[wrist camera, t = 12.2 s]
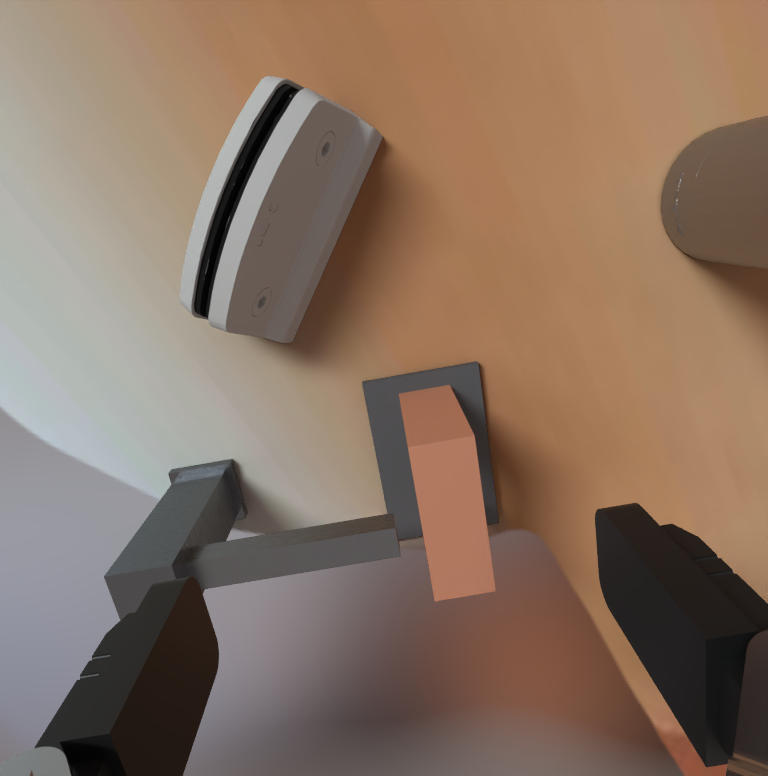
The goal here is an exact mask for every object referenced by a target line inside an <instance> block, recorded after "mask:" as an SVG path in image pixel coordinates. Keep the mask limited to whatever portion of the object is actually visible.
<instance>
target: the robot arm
mask: <svg viewBox="0 0 768 776" xmlns="http://www.w3.org/2000/svg"><path fill="white" fill-rule="evenodd" d="M661 213H662V220H663V223H664V226H665V229H666V232H667V234H668V235H669V237H670V238H671V240H672V241H673V243H674V244H675V245H676V246H677V247H678V248H679V249H680V250H681V251H682V252H684V253H686V254H688V255H689V256H691V257H693V258H696V259H700V260H704V261H710V262H718V263H725V264H733V265H739V266H747V267H755V268H763V269H768V116H764V117H759V118H755V119H751V120H747V121H743V122H739V123H735V124H732V125H728V126H724V127H720V128H717V129H715V130H712V131H710V132H707V133H705V134H703V135H702V136H700V137H699V138H697V139H696V140H694V141H693V142H692V143H691V144H690V145H689V146H688V147H686V148H685V149H684V150H683V151H682V152H681V154H680V155H679V156H678V158H677V159H676V161H675V162H674V163H673V165H672V167H671V169H670V171H669V173H668V175H667V177H666V180H665V183H664V187H663V191H662V198H661ZM595 526H596V540H597V554H598V568H599V579H600V585H601V589H602V592H603V596H604V599H605V601H606V604H607V606H608V608H609V610H610V612H611V613H612V615H613V616H614V618H615V620H616V621H617V623H618V625H619V626H620V628H621V629H622V631H623V633H624V634H625V636H626V638H627V639H628V641H629V642H630V644H631V646H632V647H633V649H634V651H635V652H636V654H637V655H638V657H639V659H640V660H641V662H642V664H643V665H644V667H645V668H646V670H647V672H648V673H649V675H650V677H651V678H652V680H653V681H654V683H655V685H656V686H657V688H658V690H659V691H660V693H661V694H662V696H663V698H664V699H665V701H666V703H667V704H668V706H669V707H670V709H671V711H672V712H673V714H674V716H675V717H676V719H677V720H678V722H679V724H680V725H681V727H682V729H683V730H684V732H685V733H686V735H687V737H688V738H689V740H690V742H691V743H692V745H693V746H694V748H695V750H696V751H697V753H698V755H699V756H700V758H701V759H702V761H703V763H704V764H705V766H706V767H711V766H717V765H723V764H727V770H726V776H768V604H767V603H766V602H765V601H764V600H763V599H762V598H761V597H760V596H759V595H758V594H757V593H756V592H755V591H754V590H753V589H752V588H751V587H750V586H749V585H748V584H747V583H746V582H745V581H744V580H742V579H741V578H740V577H739V576H738V575H737V574H734V573H733V571H732V569H731V568H730V567H729V566H728V565H727V564H726V563H725V562H724V561H723V560H722V559H721V558H719V559H718V557H717V554H716V553H715V552H713V551H712V550H711V549H710V548H709V547H708V546H707V545H706V544H705V543H704V542H703V541H702V540H701V539H700V538H699V537H698V536H695V535H693V534H691V533H689V532H687V531H685V530H683V529H681V528H679V527H677V526H675V525H673V524H668V525H662V526H659V525H658V523H657V522H656V521H655V520H654V519H653V518H652V517H651V516H650V515H649V514H648V513H647V512H646V511H645V510H644V509H643V508H642V507H641V506H640V505H639V504H637V503H632V504H626V505H620V506H614V507H608V508H602V509H598V510H597V511H596V514H595ZM218 662H219V649H218V642H217V638H216V635H215V631H214V628H213V625H212V622H211V619H210V616H209V613H208V610H207V606H206V603H205V600H204V597H203V594H202V591H201V588H200V585H199V583H198V581H197V580H196V578H194V577H185V578H180V579H174V580H168V581H162V582H156V583H154V584H153V585H152V586H151V587H150V589H149V590H148V592H147V594H146V595H145V597H144V599H143V601H142V602H141V604H140V606H139V607H138V609H137V611H136V612H134V613H128V614H127V615H126V616H125V617H124V618H123V619H122V620H121V621H120V622H119V623H118V624H116V625H115V626H114V627H113V628H112V629H111V630H110V631H109V632H108V633H107V634H106V635H105V637H104V638H103V640H102V641H101V643H100V644H99V646H98V648H97V649H96V651H95V652H94V654H93V656H92V661H89V662H88V664H87V665H86V667H85V668H84V670H83V671H82V673H81V675H80V680H77V681H76V683H75V684H74V686H73V688H72V689H71V691H70V692H69V694H68V695H67V697H66V698H65V700H64V702H63V703H62V705H61V706H60V708H59V710H58V711H57V713H56V714H55V716H54V718H53V719H52V721H51V722H50V724H49V725H48V727H47V729H46V730H45V732H44V733H43V735H42V737H41V738H40V740H39V741H38V743H37V745H36V746H35V748H34V749H31V750H28V751H25V752H23V753H20V754H18V755H16V756H14V757H12V758H10V759H8V760H7V761H5V762H4V763H2V764H1V765H0V776H183V773H184V770H185V767H186V764H187V761H188V758H189V755H190V752H191V749H192V746H193V743H194V740H195V737H196V734H197V731H198V728H199V725H200V722H201V719H202V716H203V713H204V710H205V707H206V704H207V701H208V698H209V695H210V692H211V689H212V686H213V683H214V680H215V676H216V674H217V669H218Z"/></svg>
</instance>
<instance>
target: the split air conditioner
mask: <svg viewBox="0 0 768 776" xmlns="http://www.w3.org/2000/svg"><path fill="white" fill-rule="evenodd" d="M382 138H383V136H382V135H381V134H380V133H379V132H378V131H377V130H376V129H375V128H373V127H372V126H371V125H369V124H368V123H367V122H365V121H364V120H363V119H361V118H360V117H359V116H357V115H356V114H355V113H353V112H352V111H351V110H349V109H347V108H345V107H343V106H341V105H339V104H337V103H335V102H333V101H331V100H329V99H327V98H326V97H324V96H322V95H320V94H318V93H316V92H314V91H312V90H310V89H308V88H304V87H302V86H300V85H298V84H296V83H295V82H293V81H291V80H289V79H284V78H278V77H272V76H266V77H264V78H263V79H262V80H261V81H260V82H259V84H258V86H257V87H256V89H255V90H254V92H253V93H252V95H251V96H250V98H249V99H248V101H247V103H246V104H245V106H244V108H243V109H242V111H241V113H240V115H239V116H238V118H237V120H236V122H235V124H234V126H233V127H232V129H231V131H230V133H229V135H228V137H227V139H226V141H225V143H224V145H223V147H222V149H221V151H220V153H219V156H218V158H217V160H216V163H215V165H214V168H213V170H212V172H211V175H210V177H209V180H208V182H207V185H206V187H205V190H204V193H203V196H202V198H201V201H200V204H199V207H198V210H197V213H196V217H195V220H194V224H193V227H192V231H191V235H190V238H189V242H188V246H187V251H186V256H185V260H184V265H183V272H182V278H181V286H180V296H179V299H180V303H181V305H183V306H184V307H185V308H186V309H187V310H188V311H189V312H190V313H191V314H192V315H193V316H194V317H197V318H202V319H208V320H209V324H210V325H211V326H212V327H214V328H217V329H220V330H223V331H226V332H229V333H236V334H242V335H249V336H255V337H262V338H266V339H270V340H273V341H277V342H280V343H289V342H293V340H294V337H295V335H296V333H297V331H298V328H299V326H300V324H301V322H302V319H303V317H304V315H305V312H306V310H307V308H308V306H309V303H310V301H311V299H312V297H313V294H314V292H315V290H316V288H317V285H318V283H319V281H320V278H321V276H322V274H323V272H324V269H325V267H326V265H327V263H328V260H329V258H330V256H331V254H332V251H333V249H334V247H335V245H336V242H337V240H338V238H339V235H340V233H341V231H342V229H343V226H344V224H345V222H346V220H347V217H348V215H349V213H350V211H351V208H352V206H353V204H354V202H355V199H356V197H357V195H358V192H359V190H360V188H361V186H362V183H363V181H364V179H365V177H366V174H367V172H368V170H369V168H370V165H371V163H372V161H373V158H374V156H375V154H376V152H377V149H378V147H379V145H380V143H381V140H382Z"/></svg>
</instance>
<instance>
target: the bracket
mask: <svg viewBox="0 0 768 776" xmlns="http://www.w3.org/2000/svg"><path fill="white" fill-rule="evenodd" d="M169 478H170V481H171V484H172V485H171V486H170V488H169V489H168V490H167V492H166V493H165V494H164V496H163V497H162V498H161V500H160V501H159V503H158V504H157V505H156V507H155V508H154V509H153V511H152V512H151V514H150V515H149V516H148V518H147V519H146V520H145V522H144V523H143V524H142V526H141V527H140V528H139V530H138V531H137V533H136V534H135V535H134V537H133V538H132V539H131V541H130V542H129V543H128V545H127V546H126V547H125V549H124V550H123V551H122V553H121V554H120V556H119V557H118V558H117V560H116V561H115V562H114V564H113V565H112V566H111V568H110V569H109V571H108V572H107V573H106V575H105V576H104V578H105V580H106V583H107V586H108V588H109V591H110V594H111V596H112V599H113V602H114V604H115V607H116V610H117V612H118V615H119V617H120V620H122V619H123V618H124V617H125V616H126V615H127V614H128V613H134V612H136V611H137V609H138V607H139V606H140V604H141V602H142V601H143V599H144V597H145V595H146V594H147V592H148V590H149V589H150V587H151V586H152V585H153V584H154V583H156V582H162V581H168V580H174V579H180V578H185V577H194V578H196V580H197V581H198V583H199V585H200V588H201V591H202V594H203V592H204V590H205V589H208V588H213V587H219V586H225V585H232V584H238V583H244V582H250V581H255V580H262V579H268V578H273V577H279V576H285V575H291V574H297V573H303V572H309V571H315V570H321V569H326V568H333V567H339V566H345V565H351V564H357V563H363V562H369V561H375V560H381V559H387V558H393V557H399V556H400V547H399V538H398V533H397V528H396V522H395V517H394V513H390V514H384V515H378V516H373V517H367V518H361V519H355V520H349V521H343V522H337V523H331V524H325V525H319V526H314V527H308V528H302V529H296V530H290V531H284V532H278V533H272V534H266V535H260V536H255V537H249V538H243V539H237V540H231V541H226V539H227V538H228V535H229V533H230V531H231V528H232V526H233V524H234V522H235V520H238V519H244V518H246V515H247V510H246V507H245V503H244V499H243V496H242V492H241V489H240V485H239V481H238V478H237V474H236V471H235V467H234V464H233V460H232V459H230V460H224V461H218V462H212V463H206V464H201V465H195V466H189V467H183V468H178V469H172V470H171V471H170V472H169Z"/></svg>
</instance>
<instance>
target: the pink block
mask: <svg viewBox="0 0 768 776" xmlns="http://www.w3.org/2000/svg"><path fill="white" fill-rule="evenodd" d="M399 399H400V405H401V411H402V416H403V422H404V428H405V434H406V440H407V445H408V451H409V457H410V462H411V468H412V474H413V479H414V485H415V491H416V497H417V502H418V508H419V514H420V519H421V525H422V531H423V536H424V542H425V548H426V553H427V559H428V564H429V570H430V576H431V582H432V587H433V592H434V599H435V601H439V600H445V599H451V598H457V597H464V596H469V595H475V594H482V593H487V592H494V591H496V590H495V582H494V575H493V567H492V560H491V552H490V546H489V538H488V530H487V523H486V516H485V508H484V501H483V493H482V486H481V479H480V471H479V464H478V457H477V449H476V442H475V436H474V433H473V431H472V429H471V427H470V425H469V423H468V421H467V419H466V417H465V415H464V413H463V411H462V409H461V407H460V405H459V403H458V401H457V399H456V397H455V395H454V393H453V391H452V388H451V386H450V385H446V386H440V387H434V388H429V389H423V390H417V391H411V392H406V393H400V394H399Z"/></svg>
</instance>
